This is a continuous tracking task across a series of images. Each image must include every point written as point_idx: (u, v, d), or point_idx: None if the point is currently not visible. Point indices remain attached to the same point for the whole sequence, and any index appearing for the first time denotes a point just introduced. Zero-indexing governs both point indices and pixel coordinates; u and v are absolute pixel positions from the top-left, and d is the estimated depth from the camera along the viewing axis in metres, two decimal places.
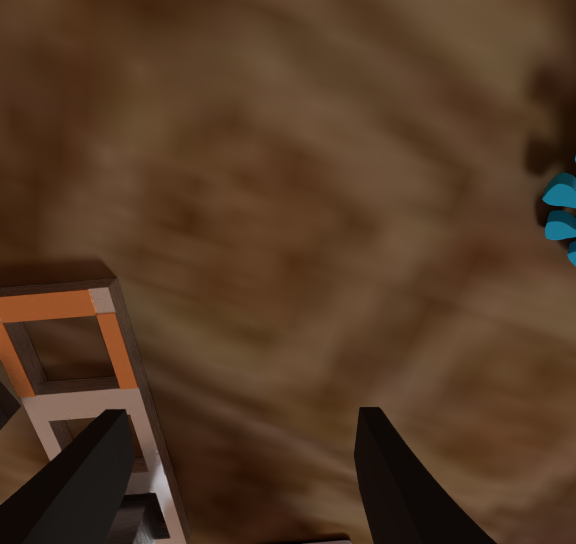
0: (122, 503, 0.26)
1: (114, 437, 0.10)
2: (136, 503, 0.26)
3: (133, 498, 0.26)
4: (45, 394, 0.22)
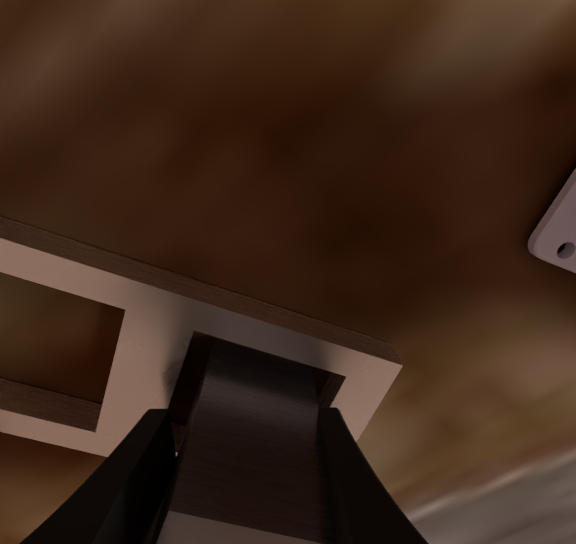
0: (195, 400, 0.12)
1: (161, 437, 0.10)
2: (203, 378, 0.11)
3: (202, 379, 0.12)
4: None
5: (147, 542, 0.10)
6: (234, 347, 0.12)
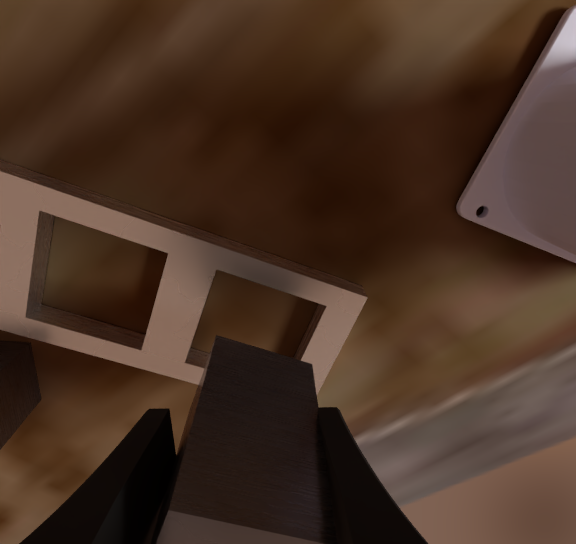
0: (195, 400, 0.12)
1: (160, 437, 0.10)
2: (202, 378, 0.12)
3: (202, 379, 0.12)
4: None
5: (147, 542, 0.10)
6: (234, 347, 0.12)
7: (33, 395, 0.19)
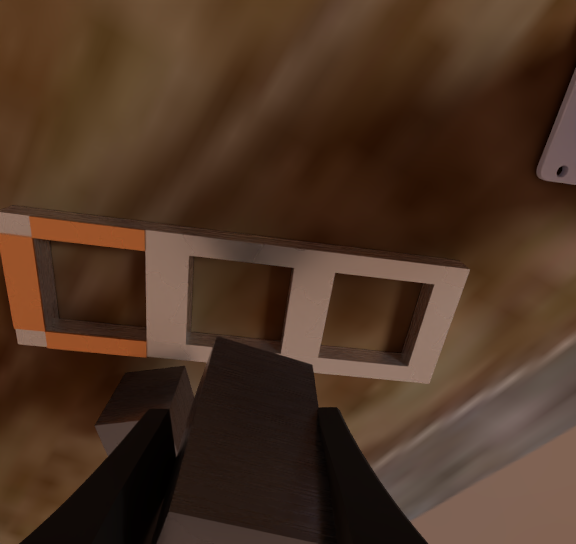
0: (195, 400, 0.12)
1: (161, 437, 0.10)
2: (203, 378, 0.11)
3: (202, 379, 0.12)
4: (147, 332, 0.19)
5: (147, 542, 0.10)
6: (234, 348, 0.12)
7: None
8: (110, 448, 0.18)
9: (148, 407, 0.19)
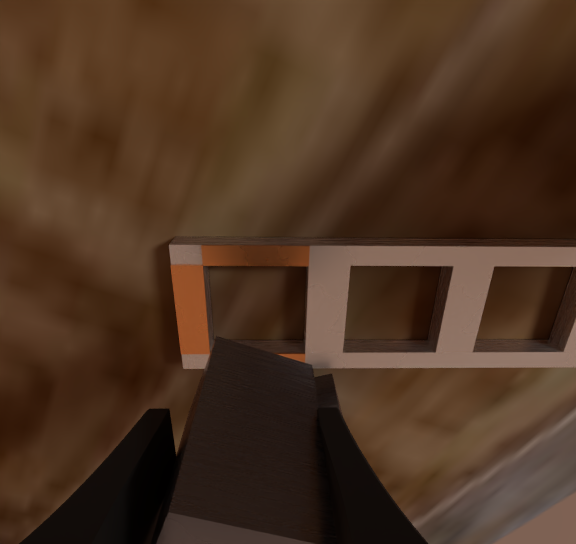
0: (194, 401, 0.12)
1: (161, 437, 0.10)
2: (202, 379, 0.11)
3: (202, 380, 0.12)
4: (306, 344, 0.20)
5: (147, 542, 0.10)
6: (234, 348, 0.12)
7: (342, 415, 0.22)
8: None
9: None
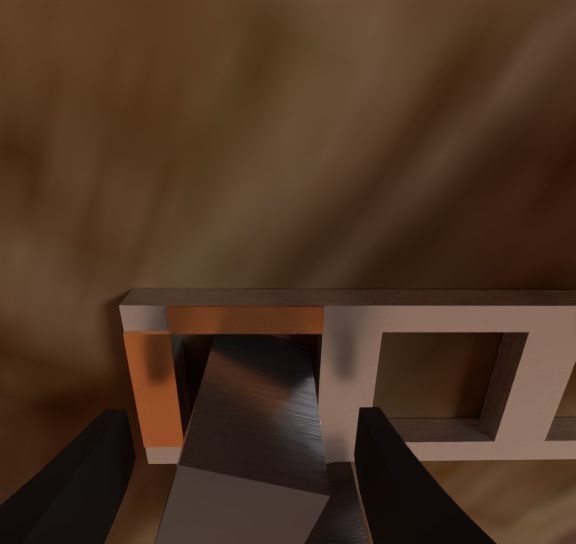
0: (201, 380, 0.13)
1: (114, 437, 0.10)
2: (207, 359, 0.12)
3: None
4: None
5: (97, 543, 0.10)
6: None
7: (362, 510, 0.17)
8: None
9: (335, 538, 0.14)
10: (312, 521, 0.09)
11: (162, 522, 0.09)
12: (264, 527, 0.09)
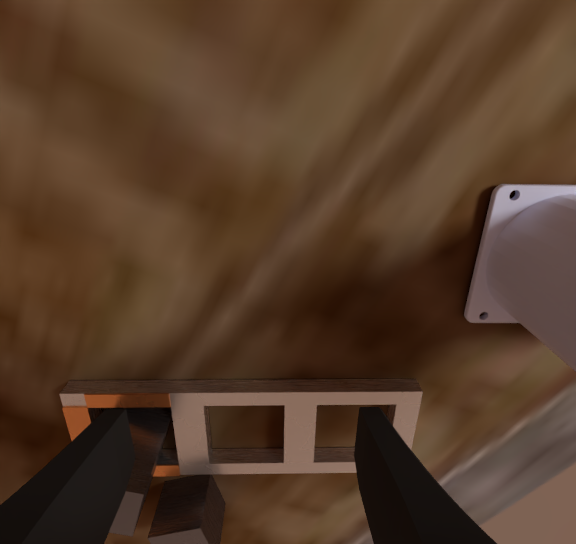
0: None
1: (114, 437, 0.10)
2: None
3: None
4: (178, 458, 0.25)
5: (97, 543, 0.10)
6: None
7: (221, 503, 0.28)
8: None
9: (186, 518, 0.24)
10: (138, 506, 0.19)
11: None
12: None
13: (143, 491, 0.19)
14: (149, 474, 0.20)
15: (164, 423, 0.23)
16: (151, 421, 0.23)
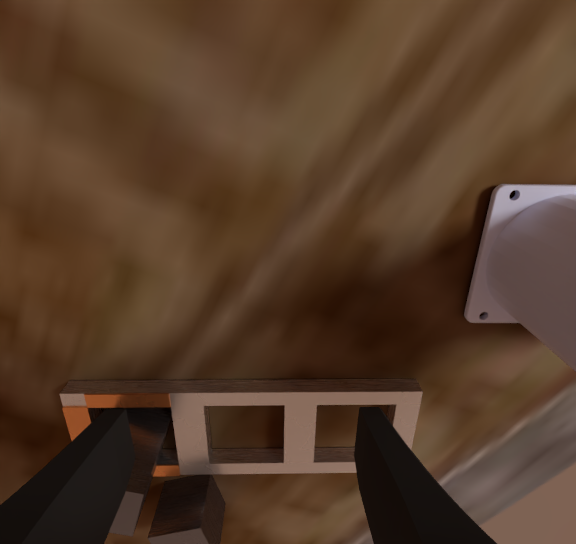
0: None
1: (114, 437, 0.10)
2: None
3: None
4: (178, 458, 0.25)
5: (97, 543, 0.10)
6: None
7: (221, 503, 0.28)
8: None
9: (186, 518, 0.24)
10: (138, 506, 0.19)
11: None
12: None
13: (143, 491, 0.19)
14: (149, 474, 0.20)
15: (164, 423, 0.23)
16: (151, 421, 0.23)
